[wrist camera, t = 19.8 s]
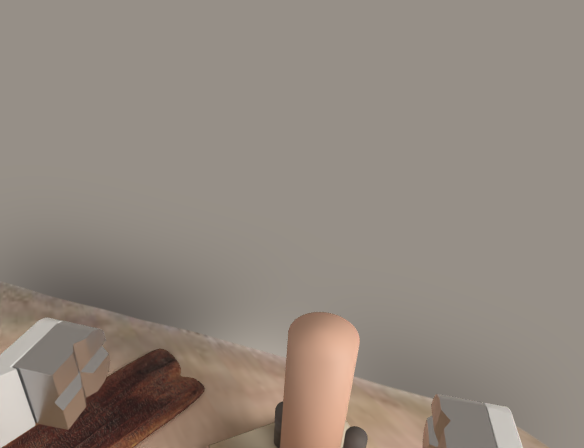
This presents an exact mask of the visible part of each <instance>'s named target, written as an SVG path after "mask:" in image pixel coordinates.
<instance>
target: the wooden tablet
mask: <svg viewBox="0 0 584 448" xmlns="http://www.w3.org/2000/svg"><path fill="white" fill-rule="evenodd" d="M180 374H181V368H180V365H179V363H178V362H177V360H176V359H175V357H173V355H172V354H170V353H169V352H168V351H166V350H164V349H157V350H154V351H152V352H150V353H148V354H146V355H145V356H143V357H141V358H139V359H137V360H135V361H133V362H132V363H130V364H128V365H126V366H125V367H123V368H121V369H120V370H118V371H116V372H115V373H113V374H112V375H110V376H108V377H106V379H105V382H104V383H103V384H102V386H101V387H100V389H99V390H98V391H97V392H96V393H94V394H92V395H90V396H88V397H86V407H85V409H84V410H83V411H82V413H81V414H80V415H79V417H78V418H77V419H76V421H75V422H74V423H73V425H72V426H71V427H70V429H69V430H67V429H62V428H57V427H52V426H47V425H42V424H37V423H35V424H36V425H35V426H34V427H32V428H31V429H29V430H28V431H26V432H25V433H23V434H22V435H20V436H19V437H17V438H16V439H14V440H13V441H11V442H9V443H8V444H6V445H5V446H3V447H2V448H133V447H134V446H136V445H137V444H138V443H139V442H141V441H142V440H143V439H145V438H146V437H148V436H149V435H150V434H152V433H153V432H154V431H156V430H157V429H158V428H160V427H161V426H163V425H164V424H165V423H167V422H168V421H170V420H171V419H173V418H174V417H175V416H176V415H178V414H179V413H181V412H182V411H183V410H185V409H186V408H187V407H188V406H189V405H190V404H192V403H193V402H194V401H195V400H196V399H197V398H199V396H200V395H201V394H202V393H203V392H204V386H203V385H202V384H201V383H200V382H199V381H197V380H196V379H194V378H190V377H181V376H180Z"/></svg>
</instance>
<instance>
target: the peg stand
mask: <svg viewBox="0 0 584 448" xmlns="http://www.w3.org/2000/svg"><path fill="white" fill-rule="evenodd" d="M282 413H283V402H280V403H279V404H278V405H277V406H276V410H275V423H272V424H269V425H266V426H263V427H260V428H257V429H255V430H252V431H249V432H246V433H243V434H240V435H237V436H234V437H232V438H229V439H226V440H223V441H220V442H217V443H214V444H211V445H209V448H280V440H281V426H282ZM367 439H368V438H367V434H366V432H365V431H364V430H363V429H361V428H359V427H355V426H353V427H350V426H349V424H348V423H347V421H346V420H345V426H344V431H343V437H342V443H341V448H366V444H367Z"/></svg>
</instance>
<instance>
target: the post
mask: <svg viewBox="0 0 584 448" xmlns="http://www.w3.org/2000/svg"><path fill="white" fill-rule="evenodd" d="M359 341H360V339H359V335H358V332H357V330H356V329H355V327H354V326H353V325H352V324H351V323H350V322H349V321H347V320H346V319H344V318H342V317H340V316H337V315H335V314H331V313H326V312H313V313H308V314H305V315H302V316H300V317H298V318H297V319H296V320H295V321H294V322H293V323H292V324H291V326H290V328H289V331H288V345H287V358H286V372H285V385H284V399H283V413H282V426H281V440H280V448H341V443H342V437H343V431H344V426H345V420H346V415H347V409H348V404H349V398H350V393H351V387H352V382H353V376H354V371H355V365H356V360H357V354H358V349H359Z"/></svg>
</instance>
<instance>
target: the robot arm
mask: <svg viewBox="0 0 584 448" xmlns="http://www.w3.org/2000/svg"><path fill="white" fill-rule="evenodd" d="M105 341H106V339H105V335H104V331H103V330H101V329H98V328H93V327H89V326H84V325H80V324H75V323H71V322H67V321H61V320H56V319H52V318H47V317H46V318H44V319H41V320H39V321H38V322H36V323H35V324H34V325H33V326H32V327H31V328H30V329H29V330H28V331H26V332H25V333H24V334H23V335H22V336H21V337H20V338H19V339H17V340H16V341H15V342H14V343H13V344H12V345H11V346H10V347H8V348H7V349H6V350H5V351H4V352H3V353H2V354H1V355H0V448H2V447H3V446H5V445H6V444H8V443H9V442H11V441H13V440H14V439H16V438H17V437H19V436H20V435H22V434H23V433H25V432H26V431H28V430H29V429H31V428H32V427H34V426H35V425H36V424H35V423H37V424H42V425H47V426H52V427H57V428H62V429H67V430H69V429H70V427H71V426H72V425H73V423H74V422H75V421H76V419H77V418H78V417H79V415H80V414H81V413H82V411H83V410H84V409H85V407H86V397H88V396H90V395H92V394H94V393H96V392H97V391H98V390H99V389H100V387H101V386H102V384H103V383H104V382H105V379H106V377H107V374H108V372H109V366H110V359H109V354H108V353H107V351H106V350H105V349H104V348H103V347H102V345H103V344H104V342H105ZM431 408H432V416H431V417H429V418H427V420H426V424H425V428H424V435H423V448H523V447H522V444H521V440H520V437H519V434H518V431H517V428H516V425H515V422H514V419H513V416H512V413H511V411H510V410H509V408H508V407H504V406H498V405H493V404H488V403H482V402H478V401H473V400H467V399H462V398H456V397H451V396H446V395H440V394H436V395H435V396H434V398H433V401H432V404H431Z"/></svg>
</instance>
